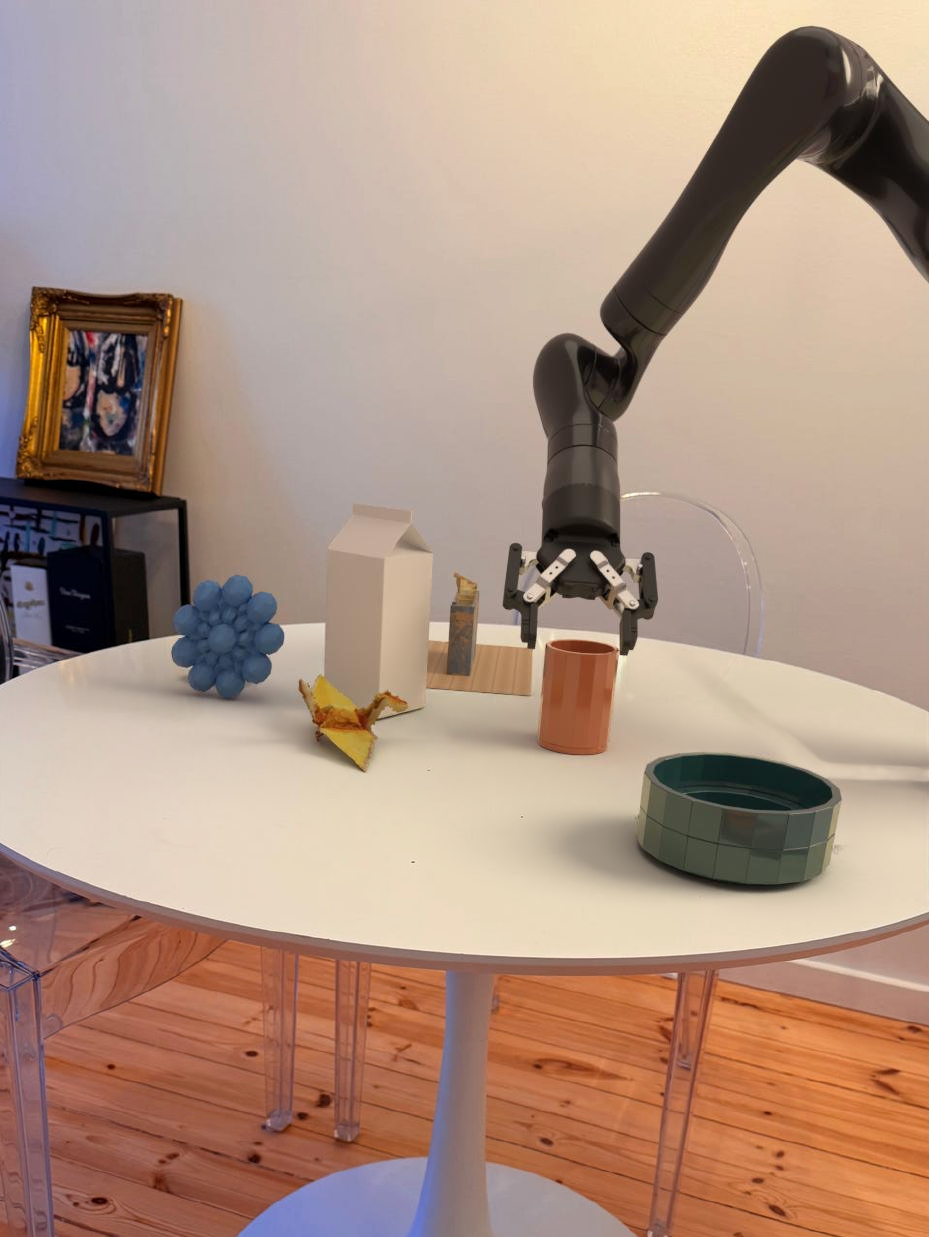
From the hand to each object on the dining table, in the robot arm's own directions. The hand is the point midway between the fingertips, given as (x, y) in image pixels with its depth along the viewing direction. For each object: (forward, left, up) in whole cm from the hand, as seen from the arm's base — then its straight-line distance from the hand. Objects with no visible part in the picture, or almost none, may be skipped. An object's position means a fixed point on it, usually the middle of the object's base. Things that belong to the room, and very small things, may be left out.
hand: (578, 647), depth 104 cm
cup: (0, +3, -8) cm, 9 cm away
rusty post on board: (+8, -28, -8) cm, 30 cm away
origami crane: (+21, +5, -8) cm, 23 cm away
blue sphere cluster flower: (+32, -9, -8) cm, 34 cm away
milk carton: (+18, -7, -8) cm, 21 cm away
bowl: (-7, +29, -8) cm, 31 cm away
